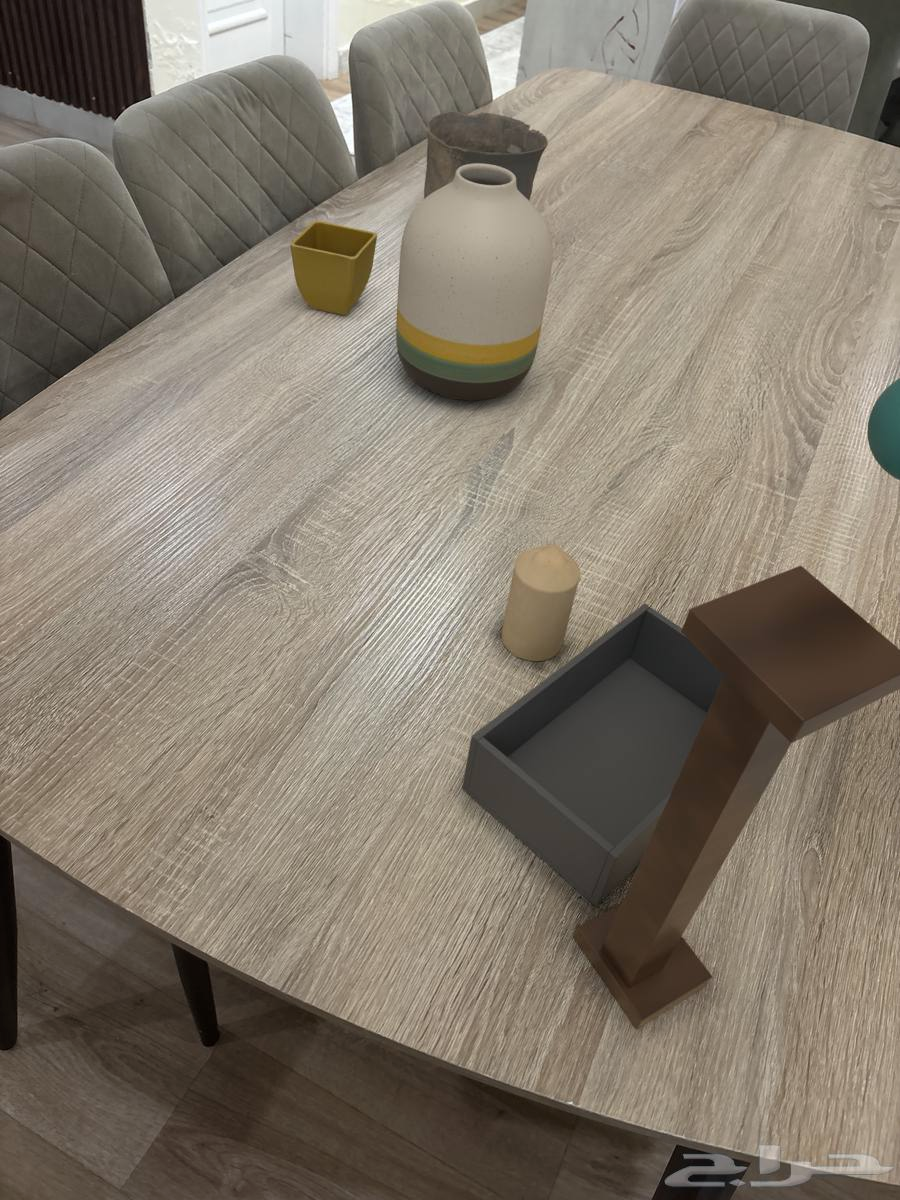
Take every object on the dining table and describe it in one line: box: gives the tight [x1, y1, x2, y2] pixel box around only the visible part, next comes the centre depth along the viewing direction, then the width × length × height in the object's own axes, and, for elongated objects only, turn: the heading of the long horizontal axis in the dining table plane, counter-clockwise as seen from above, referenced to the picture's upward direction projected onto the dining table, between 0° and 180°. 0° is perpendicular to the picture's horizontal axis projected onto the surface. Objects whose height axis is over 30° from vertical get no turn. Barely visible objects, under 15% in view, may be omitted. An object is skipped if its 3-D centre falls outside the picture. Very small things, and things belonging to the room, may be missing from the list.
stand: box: [573, 565, 900, 1030], centre depth 52 cm, size 7×7×32 cm
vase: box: [395, 163, 554, 401], centre depth 107 cm, size 17×17×24 cm
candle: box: [501, 544, 581, 662], centre depth 80 cm, size 6×6×10 cm
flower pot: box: [289, 220, 378, 316], centre depth 122 cm, size 9×9×9 cm
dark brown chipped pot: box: [423, 111, 549, 202], centre depth 140 cm, size 18×18×15 cm
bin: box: [461, 603, 724, 908], centre depth 72 cm, size 13×21×7 cm, turn 135°
